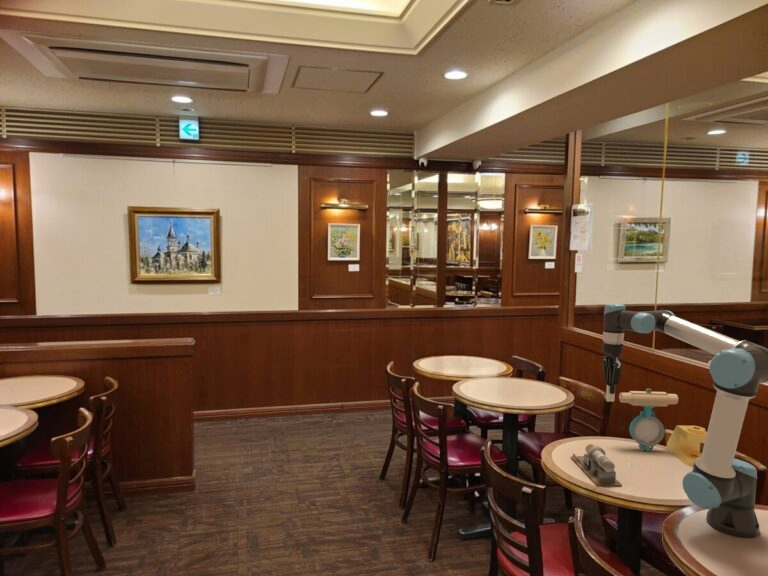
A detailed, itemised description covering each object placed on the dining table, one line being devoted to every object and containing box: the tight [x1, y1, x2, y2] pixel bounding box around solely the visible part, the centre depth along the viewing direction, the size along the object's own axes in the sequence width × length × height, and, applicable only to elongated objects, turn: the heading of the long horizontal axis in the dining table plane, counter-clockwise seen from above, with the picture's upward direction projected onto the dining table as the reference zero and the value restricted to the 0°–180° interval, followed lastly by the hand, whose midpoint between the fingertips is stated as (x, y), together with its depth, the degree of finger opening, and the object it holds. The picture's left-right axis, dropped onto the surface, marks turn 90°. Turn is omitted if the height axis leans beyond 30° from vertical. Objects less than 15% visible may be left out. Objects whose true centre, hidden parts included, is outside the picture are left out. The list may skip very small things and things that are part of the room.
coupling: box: [583, 443, 600, 469], centre depth 223 cm, size 6×7×10 cm
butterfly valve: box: [618, 387, 679, 452], centre depth 245 cm, size 27×7×30 cm, turn 84°
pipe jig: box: [570, 445, 623, 488], centre depth 221 cm, size 29×10×12 cm, turn 1°
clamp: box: [666, 424, 707, 467], centre depth 237 cm, size 20×9×16 cm, turn 177°
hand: (610, 400), depth 207 cm, fingers closed
